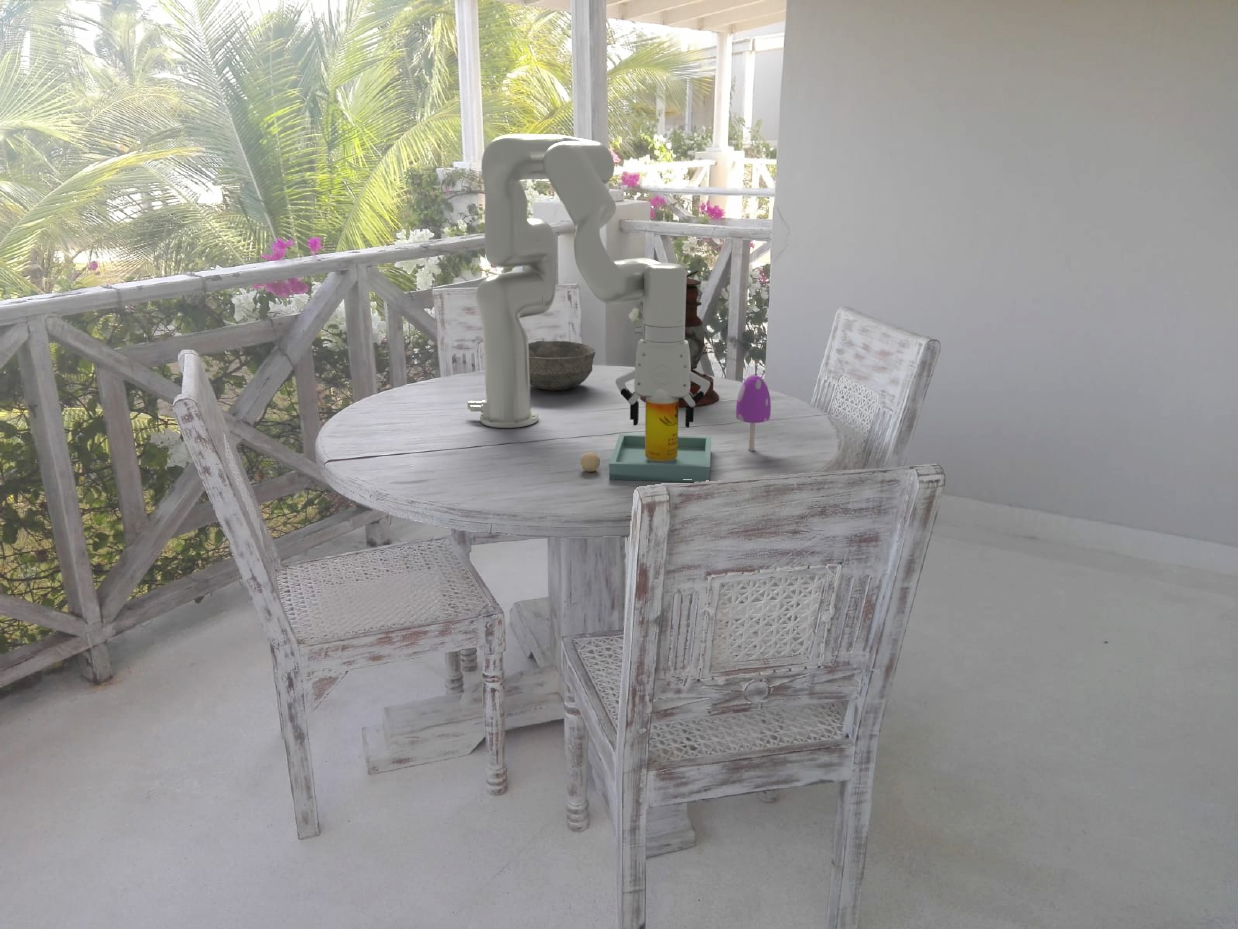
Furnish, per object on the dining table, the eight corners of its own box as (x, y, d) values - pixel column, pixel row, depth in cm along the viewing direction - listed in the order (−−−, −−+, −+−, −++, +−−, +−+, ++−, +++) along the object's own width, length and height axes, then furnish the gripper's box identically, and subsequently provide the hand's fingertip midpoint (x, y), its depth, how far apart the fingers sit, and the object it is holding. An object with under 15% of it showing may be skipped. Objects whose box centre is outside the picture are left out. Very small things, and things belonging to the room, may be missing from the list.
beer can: (674, 465, 174) (676, 386, 169) (642, 463, 175) (643, 385, 170) (679, 455, 180) (681, 378, 175) (648, 453, 181) (648, 377, 176)
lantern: (657, 384, 236) (659, 262, 227) (729, 392, 229) (734, 267, 219) (626, 402, 220) (626, 272, 210) (703, 411, 213) (707, 277, 203)
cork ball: (579, 474, 173) (579, 455, 171) (582, 467, 176) (581, 449, 175) (598, 474, 172) (598, 456, 171) (601, 468, 176) (601, 449, 174)
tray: (609, 479, 170) (609, 463, 169) (619, 448, 187) (619, 434, 186) (709, 482, 168) (709, 466, 167) (710, 451, 185) (711, 436, 184)
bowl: (594, 399, 222) (594, 358, 219) (507, 399, 223) (505, 357, 219) (597, 378, 242) (597, 340, 239) (517, 378, 242) (516, 339, 239)
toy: (760, 457, 182) (764, 381, 177) (728, 451, 185) (731, 376, 180) (773, 448, 187) (778, 374, 182) (743, 442, 191) (746, 370, 186)
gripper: (613, 336, 167) (613, 428, 173) (711, 339, 165) (707, 432, 171) (618, 328, 174) (617, 417, 180) (712, 330, 172) (708, 420, 178)
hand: (661, 424), depth 175 cm, fingers open, 9 cm apart
